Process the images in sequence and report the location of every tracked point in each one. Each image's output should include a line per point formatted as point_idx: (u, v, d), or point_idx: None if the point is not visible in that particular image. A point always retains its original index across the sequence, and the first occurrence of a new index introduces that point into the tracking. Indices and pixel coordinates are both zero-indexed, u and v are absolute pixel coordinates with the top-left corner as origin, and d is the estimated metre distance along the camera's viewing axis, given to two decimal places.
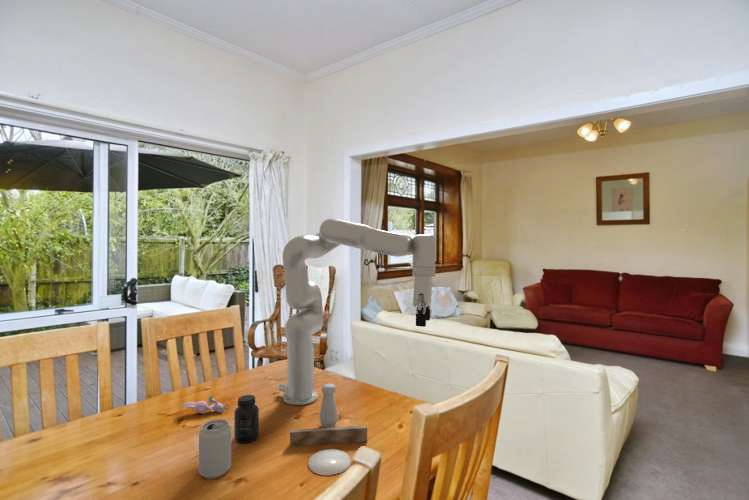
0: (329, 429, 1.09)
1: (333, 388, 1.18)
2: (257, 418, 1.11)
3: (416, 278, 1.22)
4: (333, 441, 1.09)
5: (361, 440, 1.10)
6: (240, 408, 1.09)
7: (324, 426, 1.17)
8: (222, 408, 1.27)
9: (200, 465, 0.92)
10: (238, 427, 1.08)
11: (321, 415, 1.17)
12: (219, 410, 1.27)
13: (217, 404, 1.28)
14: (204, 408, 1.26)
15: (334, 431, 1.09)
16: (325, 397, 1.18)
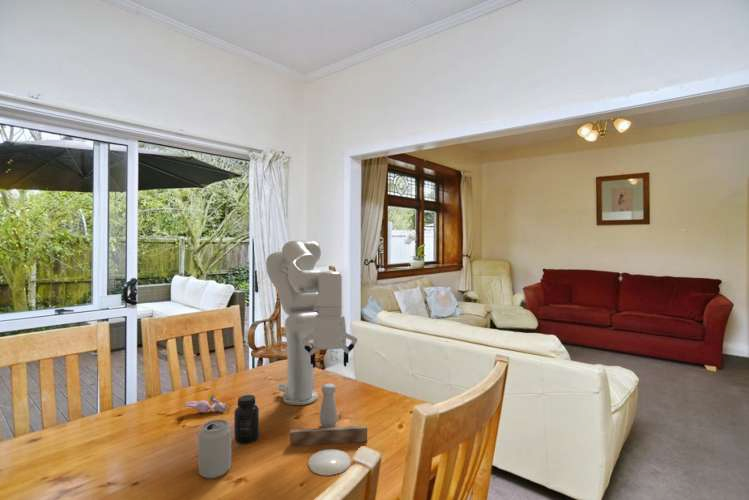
0: (329, 429, 1.09)
1: (333, 388, 1.18)
2: (257, 418, 1.11)
3: (343, 318, 1.17)
4: (333, 441, 1.09)
5: (361, 440, 1.10)
6: (240, 408, 1.09)
7: (324, 426, 1.17)
8: (223, 408, 1.27)
9: (200, 465, 0.92)
10: (238, 427, 1.08)
11: (321, 415, 1.17)
12: (220, 410, 1.27)
13: (218, 404, 1.28)
14: (205, 407, 1.26)
15: (334, 431, 1.09)
16: (325, 397, 1.18)
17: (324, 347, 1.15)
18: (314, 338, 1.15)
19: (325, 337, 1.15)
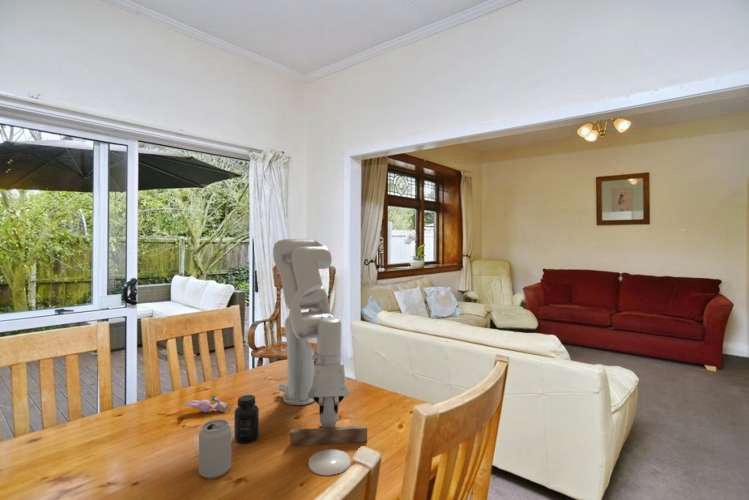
0: (329, 429, 1.09)
1: None
2: (257, 418, 1.11)
3: (343, 365, 1.17)
4: (333, 441, 1.09)
5: (361, 440, 1.10)
6: (240, 408, 1.09)
7: (324, 426, 1.17)
8: (224, 407, 1.28)
9: (200, 465, 0.92)
10: (238, 427, 1.08)
11: (321, 415, 1.17)
12: (221, 409, 1.27)
13: (220, 403, 1.28)
14: (207, 407, 1.26)
15: (334, 431, 1.09)
16: (325, 397, 1.18)
17: (323, 395, 1.16)
18: (313, 386, 1.16)
19: (324, 385, 1.16)
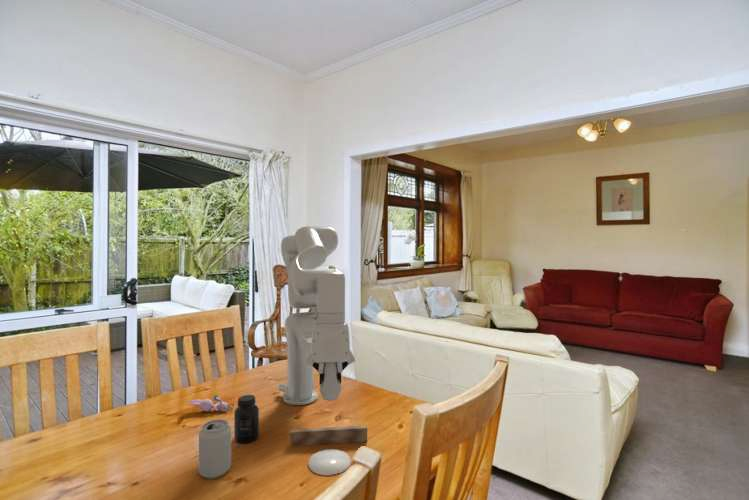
0: (329, 429, 1.09)
1: None
2: (257, 418, 1.11)
3: (347, 325, 0.99)
4: (333, 441, 1.09)
5: (361, 440, 1.10)
6: (240, 408, 1.09)
7: (325, 397, 0.99)
8: (226, 407, 1.28)
9: (200, 465, 0.92)
10: (238, 427, 1.08)
11: None
12: (223, 409, 1.27)
13: (221, 403, 1.28)
14: (208, 406, 1.27)
15: (334, 431, 1.09)
16: (326, 363, 0.99)
17: (324, 360, 0.98)
18: (312, 350, 0.98)
19: (325, 349, 0.98)
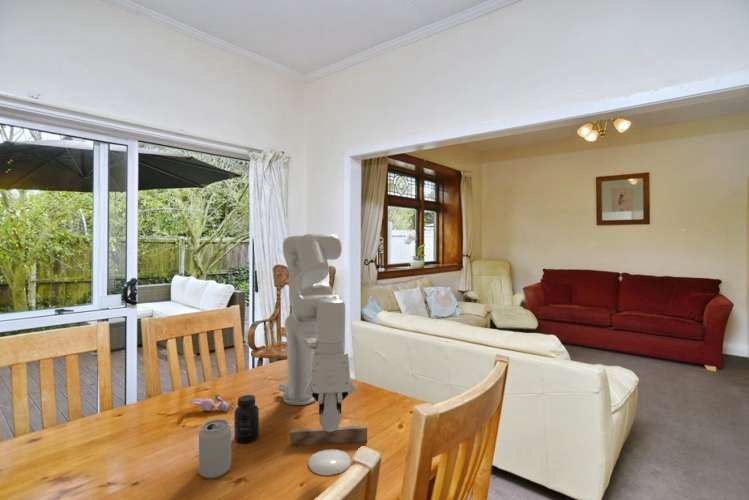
0: None
1: None
2: (257, 418, 1.11)
3: (347, 355, 0.98)
4: (333, 441, 1.09)
5: (361, 440, 1.10)
6: (240, 408, 1.09)
7: (325, 428, 0.97)
8: (227, 407, 1.28)
9: (200, 465, 0.92)
10: (238, 427, 1.08)
11: (321, 415, 0.98)
12: (224, 409, 1.28)
13: (222, 403, 1.29)
14: (209, 406, 1.27)
15: (334, 431, 1.09)
16: (326, 393, 0.98)
17: (324, 390, 0.96)
18: (312, 380, 0.96)
19: (325, 379, 0.96)
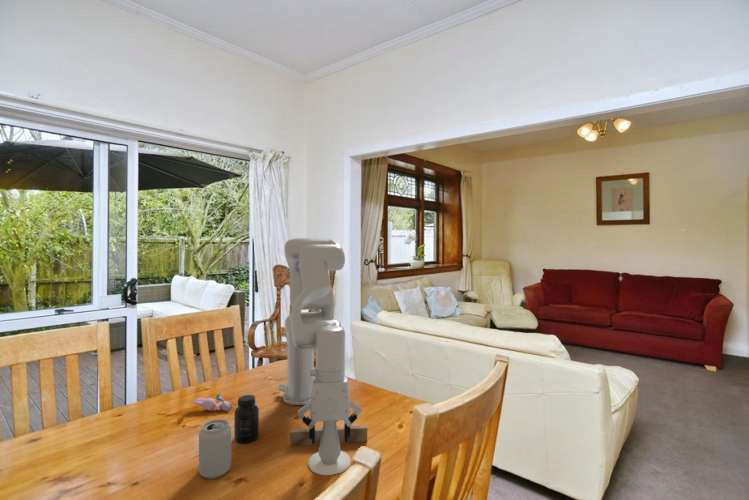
0: None
1: None
2: (257, 418, 1.11)
3: (347, 383, 0.98)
4: None
5: (361, 440, 1.10)
6: (240, 408, 1.09)
7: (324, 461, 0.98)
8: (228, 407, 1.28)
9: (200, 465, 0.92)
10: (238, 427, 1.08)
11: (321, 448, 0.98)
12: (225, 409, 1.28)
13: (223, 402, 1.29)
14: (211, 405, 1.28)
15: None
16: (326, 427, 0.98)
17: (324, 418, 0.96)
18: (312, 408, 0.96)
19: (325, 407, 0.96)
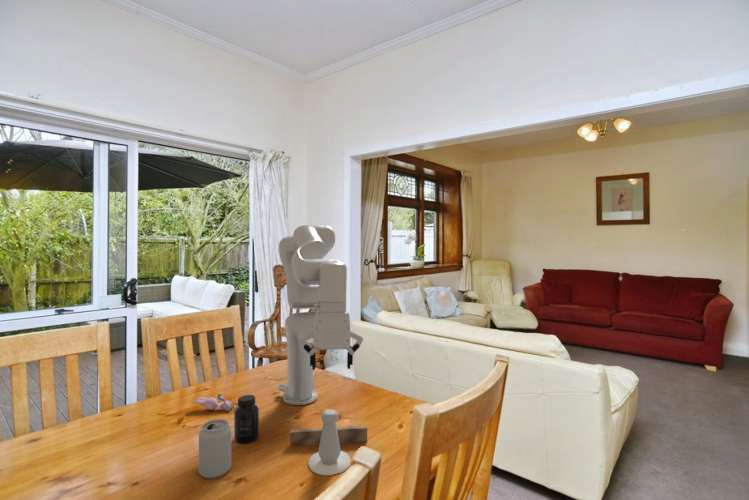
0: None
1: (335, 416, 0.98)
2: (257, 418, 1.11)
3: (348, 314, 1.03)
4: None
5: (361, 440, 1.10)
6: (240, 408, 1.09)
7: (324, 461, 0.98)
8: (229, 407, 1.28)
9: (200, 465, 0.92)
10: (238, 427, 1.08)
11: (321, 448, 0.98)
12: (226, 408, 1.28)
13: (225, 402, 1.29)
14: (212, 405, 1.28)
15: None
16: (325, 426, 0.98)
17: (326, 347, 1.02)
18: (314, 337, 1.02)
19: (327, 336, 1.02)
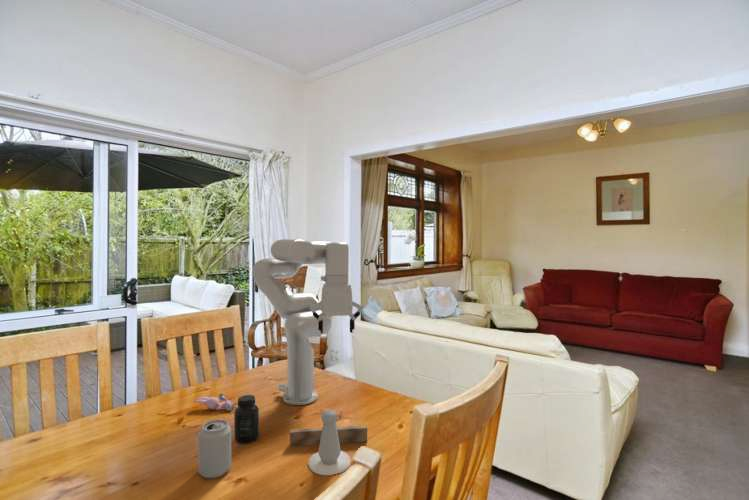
0: None
1: (335, 416, 0.98)
2: (257, 418, 1.11)
3: (350, 286, 1.23)
4: None
5: (361, 440, 1.10)
6: (240, 408, 1.09)
7: (324, 461, 0.98)
8: (230, 406, 1.28)
9: (200, 465, 0.92)
10: (238, 427, 1.08)
11: (321, 448, 0.98)
12: (227, 408, 1.28)
13: (226, 402, 1.29)
14: (213, 404, 1.28)
15: None
16: (325, 426, 0.98)
17: (332, 313, 1.21)
18: (322, 305, 1.21)
19: (332, 304, 1.21)
